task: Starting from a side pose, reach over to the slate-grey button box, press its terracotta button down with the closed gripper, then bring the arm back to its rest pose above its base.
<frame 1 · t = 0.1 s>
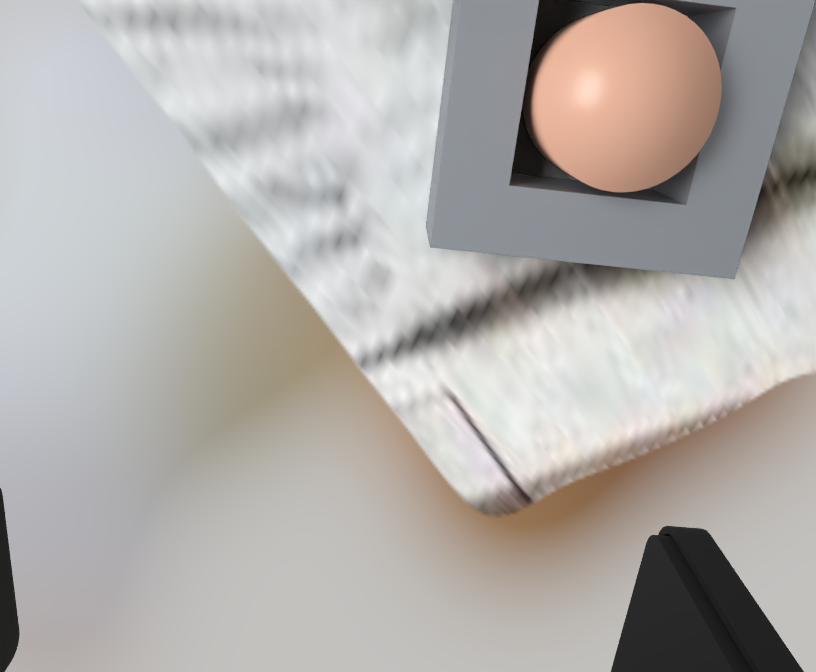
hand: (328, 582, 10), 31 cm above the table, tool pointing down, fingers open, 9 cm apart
button base: (590, 96, 37), on the table
button: (615, 99, 33), point 4 cm above the table, slide at 0.0 cm
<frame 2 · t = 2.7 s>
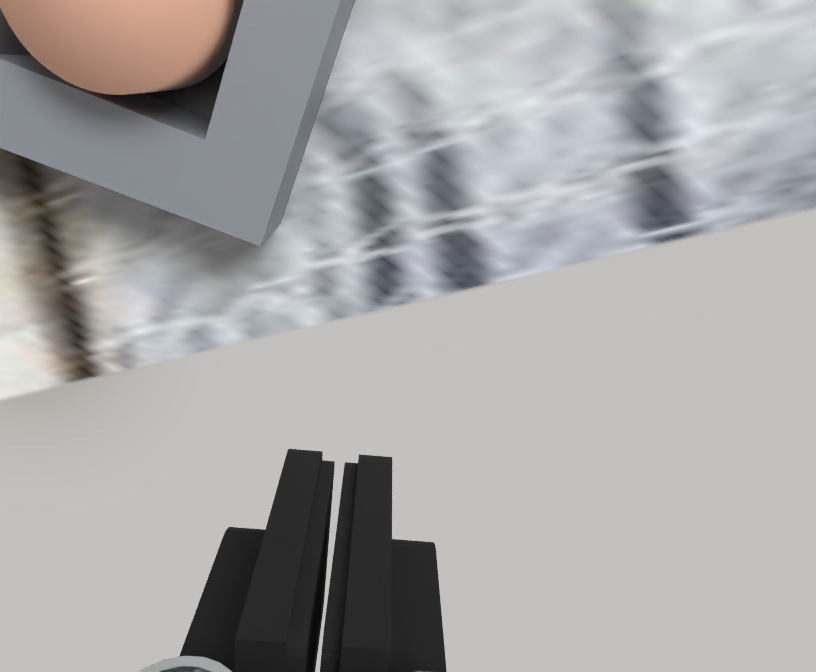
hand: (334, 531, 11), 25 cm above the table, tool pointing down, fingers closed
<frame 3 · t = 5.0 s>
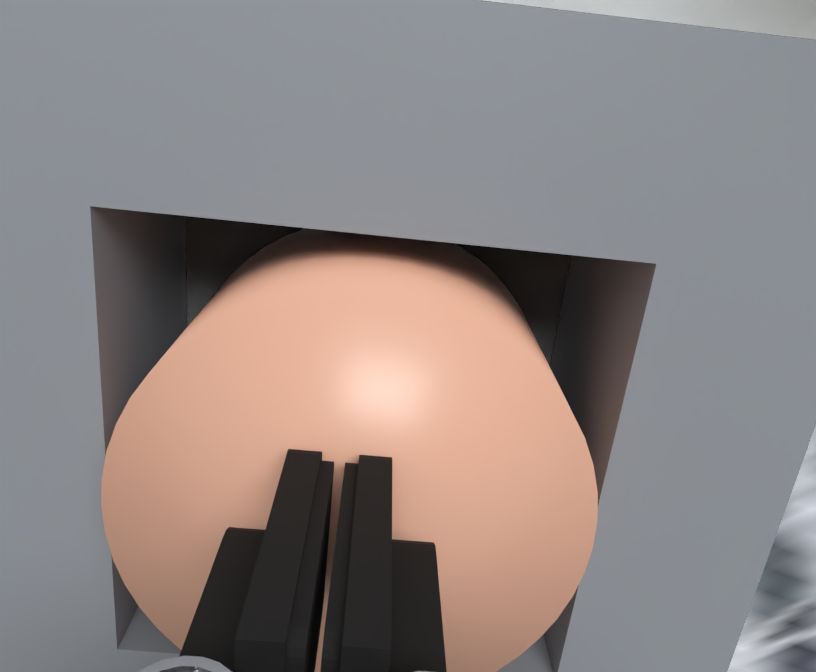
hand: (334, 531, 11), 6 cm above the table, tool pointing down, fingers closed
button base: (368, 367, 17), on the table
button: (359, 448, 14), point 4 cm above the table, slide at 0.6 cm, touching gripper
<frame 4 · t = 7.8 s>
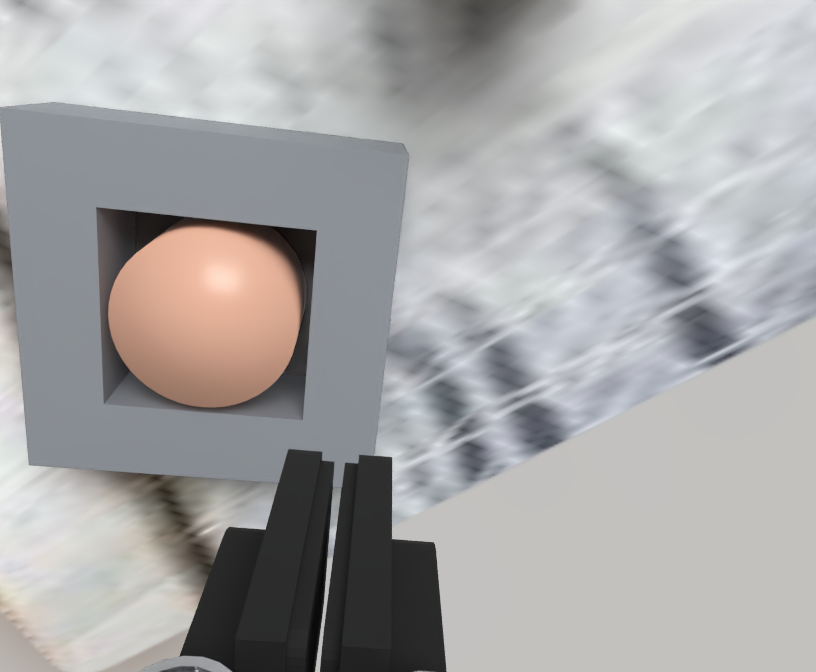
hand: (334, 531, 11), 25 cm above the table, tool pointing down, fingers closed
button base: (227, 287, 35), on the table
button: (215, 306, 32), point 3 cm above the table, slide at 1.5 cm
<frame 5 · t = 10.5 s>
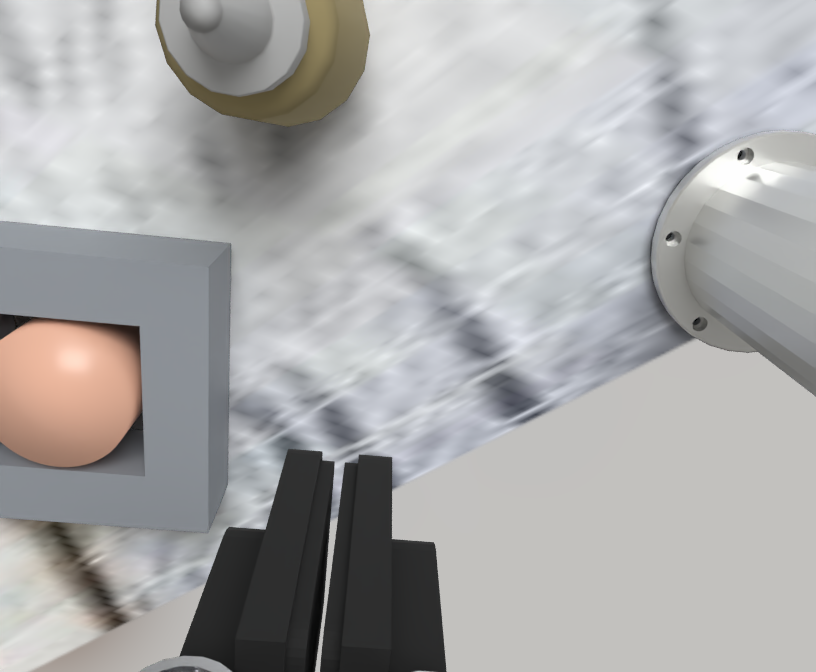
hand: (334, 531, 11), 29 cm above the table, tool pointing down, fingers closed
button base: (94, 360, 41), on the table
squeeze bottle: (293, 39, 35), on the table
button: (73, 381, 39), point 3 cm above the table, slide at 1.5 cm
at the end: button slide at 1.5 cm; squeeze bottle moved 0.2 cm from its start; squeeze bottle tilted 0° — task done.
